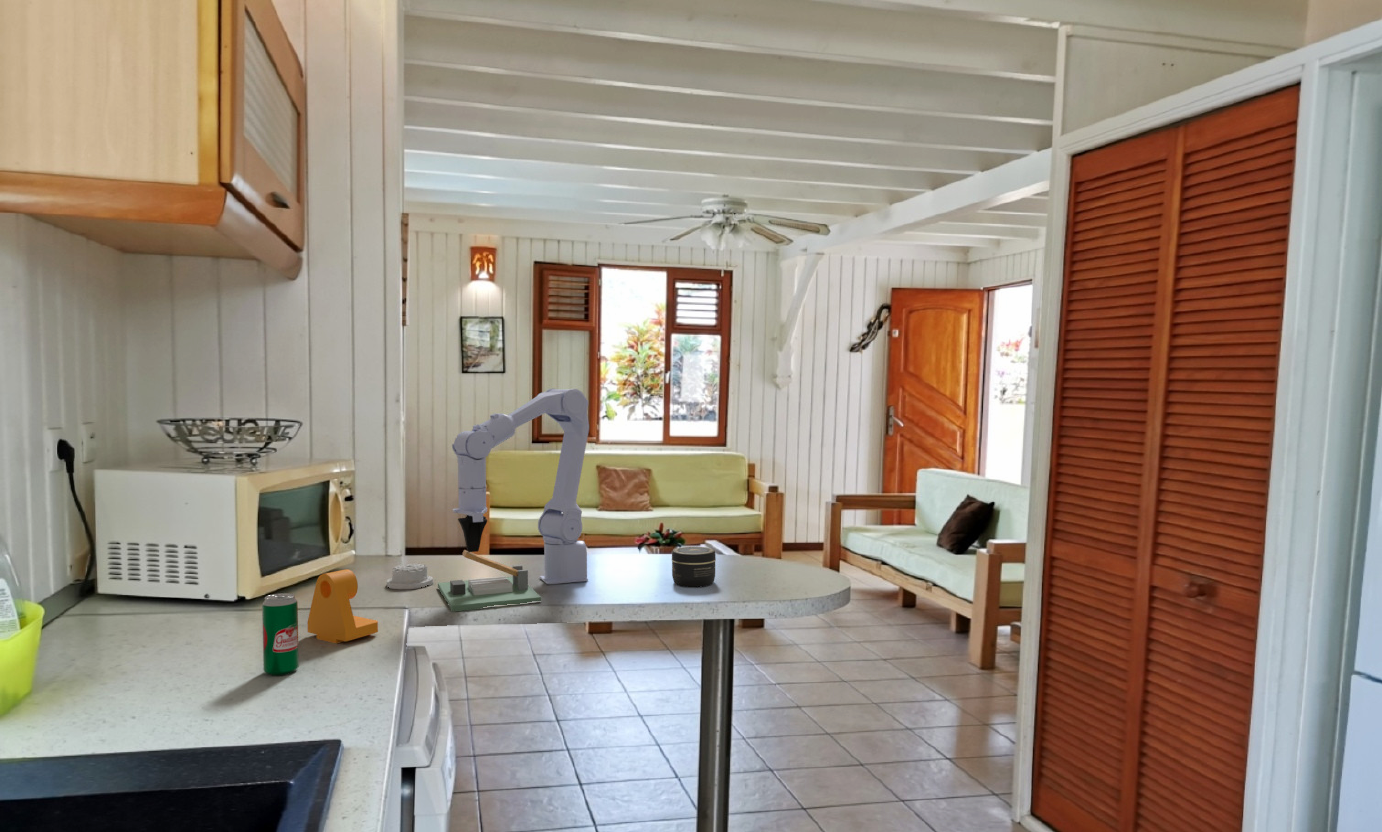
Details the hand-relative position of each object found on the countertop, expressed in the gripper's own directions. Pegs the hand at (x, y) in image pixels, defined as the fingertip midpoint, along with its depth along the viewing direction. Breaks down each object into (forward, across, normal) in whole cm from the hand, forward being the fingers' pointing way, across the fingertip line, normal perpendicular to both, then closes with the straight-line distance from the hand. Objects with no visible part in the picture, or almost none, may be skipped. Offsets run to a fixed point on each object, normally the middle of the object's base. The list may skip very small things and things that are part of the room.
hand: (472, 551), depth 189 cm
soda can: (+10, +38, -36) cm, 53 cm away
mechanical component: (+10, -18, -11) cm, 23 cm away
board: (+10, 0, +3) cm, 10 cm away
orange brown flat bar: (+4, 0, +4) cm, 6 cm away
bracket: (+10, +21, -26) cm, 35 cm away
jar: (+10, +7, +48) cm, 50 cm away
